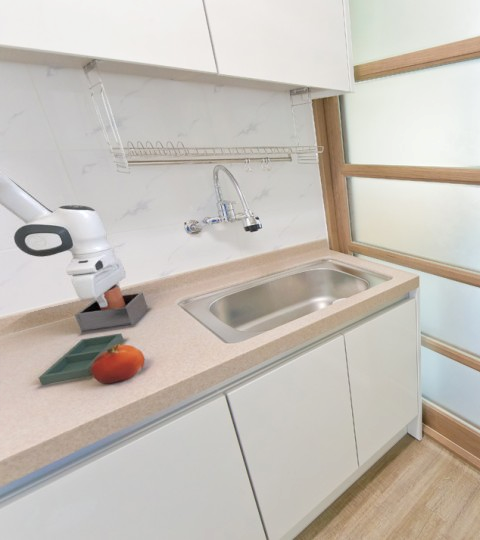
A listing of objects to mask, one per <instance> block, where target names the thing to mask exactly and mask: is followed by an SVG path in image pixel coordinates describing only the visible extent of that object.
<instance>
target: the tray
mask: <svg viewBox="0 0 480 540" xmlns="http://www.w3.org/2000/svg"><path fill="white" fill-rule="evenodd" d="M123 341H124V337H123V334H122V333H114V334H107V335H102V336H95V337H87V338H82V339H81V340H79V341H78V343H76V344H75V345H74V346H72V347H71V348H70V349H69V350H68V351H67V352H66V353H64V354H63V356H61V357H60V358H59V359H57V361H55V362H54V363H53V364H52V365H51V366H50V367H48V369H47V370H45V371H44V372H43V373H42V374H41V375H39V376H38V380H39V382H40V384H41V386H44V385H51V384H55V383H61V382H66V381H71V380H79V379H82V378H83V379H84V378H88V377H91V376H93V374H92V372H91V366H92V365H93V362H94V360H95V359H96V358H97V357H98V356H99V355H101V354H102V353H103V352H105V351H106V350H108V349H109V348H111V347H113V346H115V345H117V344H120V345H121V343H122V342H123Z"/></svg>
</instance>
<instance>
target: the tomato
mask: <svg viewBox="0 0 480 540" xmlns="http://www.w3.org/2000/svg"><path fill="white" fill-rule="evenodd" d="M145 360H146V359H145V355H144V353H143V352H142V351H141V350H140V349H138V348H136V347H135V346H133V345H128V344H121V343H120V344H117V345H115V346H113V347H111V348H109V349H108V350H106V351H105V352H103V353H102V354H101V355H99V356H98V357H97V358H96V359H95V360H94V362H93V365H92V366H91V372H92V376H93V378H94V380H96V381H97V382H99V383H101V384H113V383H117V382H124V381H127V380H131V379H132V378H134V377H136V376H137V374H139V373H140V372H141V371H142V370H143V367H144V364H145Z"/></svg>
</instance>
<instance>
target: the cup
mask: <svg viewBox="0 0 480 540" xmlns="http://www.w3.org/2000/svg"><path fill="white" fill-rule="evenodd" d="M104 295H105V296H104V298H105V299H106V300H108V301H109V305H108V306H107V307H100V305H99V307H100V309H101V310H109V309H116V308H123V307H125V306H126V304H125V301H124V299H123V296H122V295H123V293H122V290H121V288H120V287H119V285H114V286H113V287H111V288H110V289H109V290H107V291H106V292H105V293H104ZM98 304H99V303H98Z"/></svg>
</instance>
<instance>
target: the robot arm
mask: <svg viewBox="0 0 480 540" xmlns="http://www.w3.org/2000/svg"><path fill="white" fill-rule="evenodd" d="M0 205H1V206H3V208H5V209H6V210H8V211H9V212H11V214H13V215H14V216H16V217H17V218H19V219H20V220H21V221H22V222H24V223H25V224H24V225H22V226H20V227H19V228H18V229H17V230H16V231H15V233H14V236H13V240H14V243H15V246H16V247H17V248H18V249H19V250H20V251H21V252H23V253H25V254H27V255H29V256H32V257H38V258H39V257H40V258H41V257H50V256H54V255H57V254H60V253H61V254H62V253H64V252H67V251H68V252H70V253H71V255H72V259H71V261H70V263H69V264H68V266H67V267H66V269H65V271H66V275H67V276H71V283H72V286H73V288H74V291H75V293H76V295H77V297H78V298H79V299H80V300H82V301H91V300H96V301H97V302H98V303H99V305H100V307H107V306H108V305H109V301H108V300H106V299H105V298H104V296H105V295H104V293H105V292H106V291H107V290H109V289H110V288H111V287H113V286H114V285H119V287H120V286H121V285H120V282H121V281H122V280H124V279H126V275H127V273H126V270H125V268H124V265H123V263H122V261H121V260H120V258H118V257H117V256H116V254H115V253H114V251H113V248H112V245H111V244H110V242H109V241H108V238H107V235H108V233H107V230H106V228H105V225H104V223H103V221H102V218H101V217H100V215H99V213H98V212H97V210H96V209H94V208H93V207H91V206H86V205H77V204H75V205H74V204H72V205H71V204H70V205H62V206H59V207H57V209H56V210H54V211H53V210H51V209H49V208H48V207H47V206H46V205H44V204H43V203H42V202H40V201H39V200H37V198H35V197H34V196H33V195H31V194H30V193H29V192H28V191H26V190H25V189H24V188H23V187H21V186H20V185H19V184H18V183H16V182H15V181H14V180H12V179H11V178H10V177H8V176H7V175H6V174H5V173H4V172H3V171H2V170H0Z"/></svg>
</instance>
